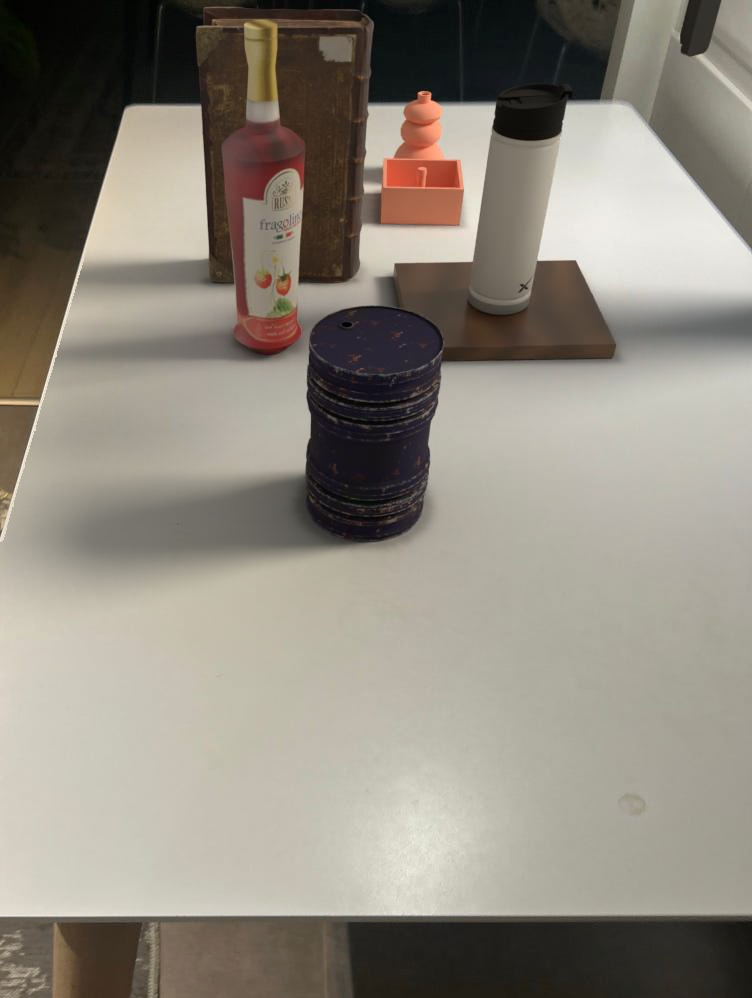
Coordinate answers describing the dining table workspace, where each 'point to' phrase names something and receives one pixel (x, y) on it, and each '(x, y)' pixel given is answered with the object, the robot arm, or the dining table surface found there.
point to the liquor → (264, 205)
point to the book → (294, 125)
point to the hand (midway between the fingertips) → (739, 69)
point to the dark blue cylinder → (370, 419)
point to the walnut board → (524, 335)
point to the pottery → (421, 172)
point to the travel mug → (516, 195)
